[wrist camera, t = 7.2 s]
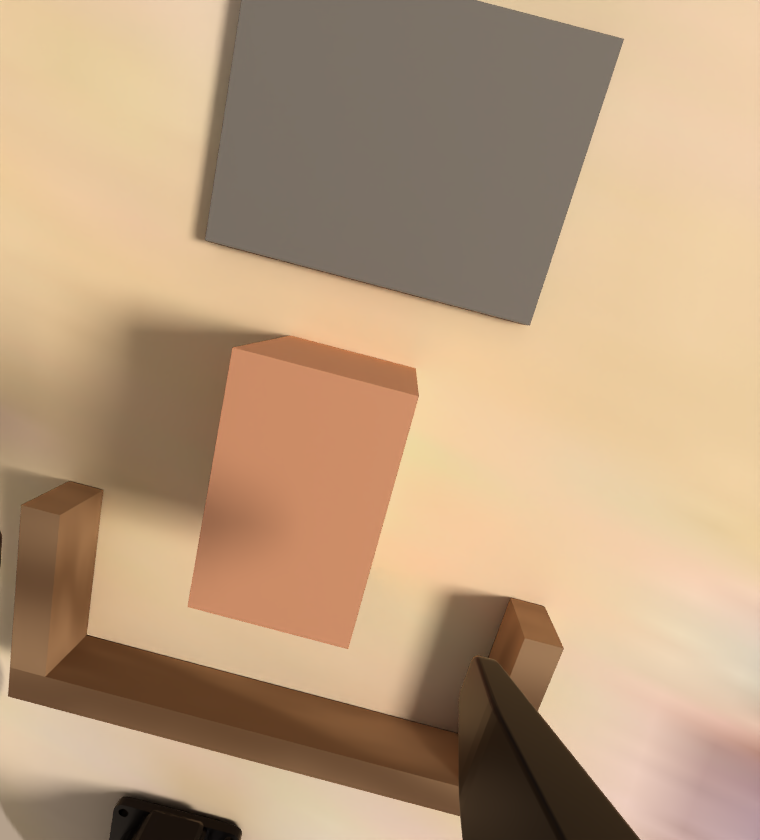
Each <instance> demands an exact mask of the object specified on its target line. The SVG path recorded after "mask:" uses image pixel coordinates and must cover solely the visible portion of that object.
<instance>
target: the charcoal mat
mask: <svg viewBox="0 0 760 840" xmlns="http://www.w3.org/2000/svg"><path fill="white" fill-rule="evenodd" d="M623 40H624V39H622V38H618V37H614V36H611V35H607V34H603V33H599V32H595V31H592V30H588V29H584V28H580V27H576V26H572V25H569V24H565V23H561V22H557V21H553V20H549V19H546V18H542V17H538V16H534V15H530V14H527V13H523V12H519V11H515V10H511V9H507V8H504V7H500V6H496V5H492V4H488V3H484V2H481V1H477V0H242V1H241V7H240V14H239V20H238V27H237V34H236V40H235V47H234V53H233V60H232V67H231V73H230V80H229V86H228V93H227V100H226V106H225V113H224V119H223V126H222V132H221V139H220V146H219V152H218V159H217V165H216V172H215V179H214V185H213V192H212V198H211V205H210V212H209V218H208V225H207V231H206V238H205V240H206V241H209V242H212V243H216V244H220V245H224V246H227V247H231V248H235V249H239V250H243V251H246V252H250V253H254V254H258V255H262V256H265V257H269V258H273V259H277V260H281V261H284V262H288V263H292V264H296V265H300V266H303V267H307V268H311V269H315V270H319V271H322V272H326V273H330V274H334V275H338V276H341V277H345V278H349V279H353V280H357V281H361V282H364V283H368V284H372V285H376V286H380V287H383V288H387V289H391V290H395V291H399V292H402V293H406V294H410V295H414V296H418V297H421V298H425V299H429V300H433V301H437V302H440V303H444V304H448V305H452V306H456V307H459V308H463V309H467V310H471V311H475V312H478V313H482V314H486V315H490V316H494V317H497V318H501V319H505V320H509V321H513V322H516V323H520V324H524V325H530V323H531V320H532V317H533V314H534V311H535V308H536V305H537V302H538V299H539V296H540V293H541V290H542V287H543V284H544V281H545V278H546V275H547V272H548V269H549V266H550V263H551V259H552V256H553V253H554V250H555V247H556V244H557V241H558V238H559V235H560V232H561V229H562V226H563V223H564V220H565V217H566V214H567V211H568V208H569V205H570V202H571V199H572V196H573V193H574V189H575V186H576V183H577V180H578V177H579V174H580V171H581V168H582V165H583V162H584V159H585V156H586V153H587V150H588V147H589V144H590V141H591V138H592V135H593V132H594V129H595V126H596V123H597V119H598V116H599V113H600V110H601V107H602V104H603V101H604V98H605V95H606V92H607V89H608V86H609V83H610V80H611V77H612V74H613V71H614V68H615V65H616V62H617V59H618V56H619V52H620V49H621V46H622V43H623Z"/></svg>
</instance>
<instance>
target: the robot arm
mask: <svg viewBox="0 0 760 840" xmlns="http://www.w3.org/2000/svg"><path fill="white" fill-rule="evenodd" d="M1 548H2V534H1V532H0V565H1ZM458 778H459V806H460V818H461V828H462V838H463V840H640V839H639V837H638V836H637V835H636V834H635V832H634V831H633V830H632V829H631V827H630V826H629V825H628V824H627V822H626V821H625V820H624V819H623V817H622V816H621V815H620V814H619V812H618V811H617V810H616V809H615V807H614V806H613V805H612V804H611V802H610V801H609V800H608V799H607V797H606V796H605V795H604V794H603V792H602V791H601V790H600V789H599V787H598V786H597V785H596V784H595V782H594V781H593V780H592V779H591V777H590V776H589V775H588V774H587V772H586V771H585V770H584V769H583V767H582V766H581V765H580V764H579V762H578V761H577V760H576V759H575V757H574V756H573V755H572V754H571V752H570V751H569V750H568V749H567V747H566V746H565V745H564V744H563V742H562V741H561V740H560V739H559V738H558V736H557V735H556V734H555V733H554V731H553V730H552V729H551V728H550V726H549V725H548V724H547V723H546V721H545V720H544V719H543V718H542V716H541V715H540V714H539V713H538V711H537V710H536V709H535V708H534V706H533V705H532V704H531V703H530V701H529V700H528V699H527V698H526V696H525V695H524V694H523V693H522V691H521V690H520V689H519V688H518V686H517V685H516V684H515V683H514V681H513V680H512V679H511V678H510V676H509V675H508V674H507V673H506V671H505V670H504V669H503V668H502V666H501V665H500V664H499V663H498V662H497V661H496V660H494V659H490V658H487V657H483V656H479V655H476V656H474V657H473V659H472V660H471V662H470V665H469V668H468V671H467V674H466V676H465V679H464V682H463V685H462V687H461V691H460V695H459V703H458ZM241 836H242V831H241V829H240V828H239V827H237V826H235V825H232V824H228V823H224V822H221V821H217V820H213V819H209V818H206V817H202V816H198V815H194V814H191V813H187V812H183V811H179V810H175V809H172V808H168V807H164V806H160V805H157V804H153V803H149V802H145V801H142V800H138V799H134V798H130V797H123V798H121V799H120V800H119V802H118V803H117V805H116V807H115V809H114V812H113V819H112V825H111V832H110V839H109V840H241Z"/></svg>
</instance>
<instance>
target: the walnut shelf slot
mask: <svg viewBox="0 0 760 840" xmlns="http://www.w3.org/2000/svg"><path fill="white" fill-rule="evenodd" d="M102 496H103V490H101V489H97V488H93V487H90V486H86V485H82V484H78V483H75V482H71V481H69V482H66V483H64V484H62V485H60V486H58V487H56V488H54V489H52V490H50V491H48V492H46V493H44V494H42V495H40V496H38V497H36V498H34V499H32V500H30V501H28V502H26V503H24V504H22V505H21V516H20V531H19V545H18V560H17V574H16V589H15V604H14V618H13V633H12V647H11V662H10V677H9V691H8V696H9V697H12V698H16V699H20V700H24V701H28V702H31V703H35V704H39V705H43V706H46V707H50V708H54V709H58V710H62V711H65V712H69V713H73V714H77V715H80V716H84V717H88V718H92V719H95V720H99V721H103V722H107V723H111V724H114V725H118V726H122V727H126V728H129V729H133V730H137V731H141V732H144V733H148V734H152V735H156V736H160V737H163V738H167V739H171V740H175V741H178V742H182V743H186V744H190V745H193V746H197V747H201V748H205V749H209V750H212V751H216V752H220V753H224V754H227V755H231V756H235V757H239V758H243V759H246V760H250V761H254V762H258V763H261V764H265V765H269V766H273V767H276V768H280V769H284V770H288V771H292V772H295V773H299V774H303V775H307V776H310V777H314V778H318V779H322V780H325V781H329V782H333V783H337V784H341V785H344V786H348V787H352V788H356V789H359V790H363V791H367V792H371V793H374V794H378V795H382V796H386V797H390V798H393V799H397V800H401V801H405V802H408V803H412V804H416V805H420V806H423V807H427V808H431V809H435V810H439V811H442V812H446V813H450V814H454V815H457V816H460V806H459V778H458V734H457V733H453V732H450V731H446V730H442V729H438V728H435V727H431V726H427V725H423V724H419V723H416V722H412V721H408V720H404V719H401V718H397V717H393V716H389V715H385V714H382V713H378V712H374V711H370V710H367V709H363V708H359V707H355V706H351V705H348V704H344V703H340V702H336V701H333V700H329V699H325V698H321V697H317V696H314V695H310V694H306V693H302V692H299V691H295V690H291V689H287V688H283V687H280V686H276V685H272V684H268V683H265V682H261V681H257V680H253V679H249V678H246V677H242V676H238V675H234V674H231V673H227V672H223V671H219V670H216V669H212V668H208V667H204V666H200V665H197V664H193V663H189V662H185V661H182V660H178V659H174V658H170V657H166V656H163V655H159V654H155V653H151V652H148V651H144V650H140V649H136V648H132V647H129V646H125V645H121V644H117V643H114V642H110V641H106V640H102V639H98V638H95V637H91V636H87V626H88V618H89V609H90V600H91V592H92V583H93V574H94V565H95V557H96V548H97V539H98V531H99V522H100V513H101V505H102ZM563 649H564V648H563V646H562V644H561V641H560V639H559V637H558V635H557V633H556V630H555V628H554V626H553V624H552V622H551V620H550V617H549V615H548V613H547V611H546V609H545V607H544V606H540V605H536V604H533V603H529V602H525V601H521V600H517V599H514V598H510V601H509V603H508V606H507V609H506V611H505V614H504V617H503V620H502V622H501V625H500V628H499V630H498V633H497V636H496V638H495V641H494V644H493V646H492V649H491V652H490V655H489V657H488V658H490V659H494V660H496V661H497V662H498V663H499V664H500V665H501V666H502V668H503V669H504V670H505V671H506V673H507V674H508V675H509V676H510V678H511V679H512V680H513V681H514V683H515V684H516V685H517V686H518V688H519V689H520V690H521V691H522V693H523V694H524V695H525V696H526V698H527V699H528V700H529V701H530V703H531V704H532V705H533V706H534V708H535V709H536V710H537V711H538V709H539V707H540V704H541V702H542V699H543V697H544V695H545V692H546V690H547V687H548V685H549V683H550V680H551V678H552V675H553V673H554V671H555V668H556V666H557V663H558V661H559V659H560V656H561V654H562V651H563Z"/></svg>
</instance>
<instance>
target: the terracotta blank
mask: <svg viewBox="0 0 760 840" xmlns="http://www.w3.org/2000/svg"><path fill="white" fill-rule="evenodd" d="M418 397H419V394H418V385H417V376H416V368H412V367H408V366H404V365H400V364H396V363H393V362H389V361H385V360H381V359H377V358H374V357H370V356H366V355H362V354H358V353H355V352H351V351H347V350H343V349H339V348H335V347H332V346H328V345H324V344H320V343H316V342H313V341H309V340H305V339H301V338H297V337H293V336H285V337H281V338H276V339H271V340H266V341H261V342H256V343H252V344H247V345H242V346H237V347H233V348H232V353H231V359H230V365H229V371H228V377H227V382H226V388H225V394H224V400H223V405H222V411H221V417H220V423H219V428H218V434H217V440H216V446H215V452H214V457H213V463H212V469H211V475H210V480H209V486H208V492H207V498H206V503H205V509H204V515H203V521H202V527H201V532H200V538H199V544H198V550H197V555H196V561H195V567H194V573H193V578H192V584H191V590H190V596H189V601H188V607H190V608H194V609H198V610H202V611H206V612H209V613H213V614H217V615H221V616H225V617H228V618H232V619H236V620H240V621H244V622H247V623H251V624H255V625H259V626H263V627H266V628H270V629H274V630H278V631H282V632H285V633H289V634H293V635H297V636H301V637H304V638H308V639H312V640H316V641H320V642H323V643H327V644H331V645H335V646H339V647H342V648H346V649H348V647H349V644H350V640H351V637H352V633H353V629H354V626H355V622H356V619H357V615H358V612H359V608H360V604H361V601H362V597H363V594H364V590H365V587H366V583H367V579H368V576H369V572H370V569H371V565H372V562H373V558H374V554H375V551H376V547H377V544H378V540H379V536H380V533H381V529H382V526H383V522H384V519H385V515H386V511H387V508H388V504H389V501H390V497H391V494H392V490H393V486H394V483H395V479H396V476H397V472H398V469H399V465H400V461H401V458H402V454H403V451H404V447H405V444H406V440H407V436H408V433H409V429H410V426H411V422H412V419H413V415H414V411H415V408H416V404H417V401H418Z"/></svg>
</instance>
